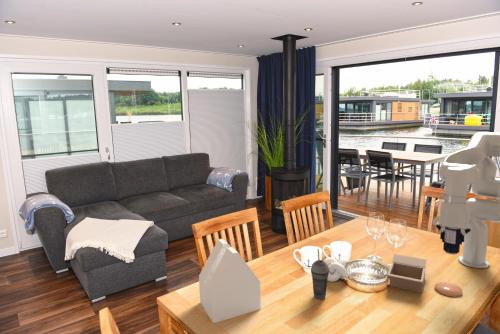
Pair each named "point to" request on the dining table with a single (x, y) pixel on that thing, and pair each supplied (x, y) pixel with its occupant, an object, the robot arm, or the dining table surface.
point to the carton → (407, 272)
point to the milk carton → (228, 284)
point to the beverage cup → (319, 278)
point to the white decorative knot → (336, 269)
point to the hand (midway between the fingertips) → (451, 241)
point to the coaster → (448, 289)
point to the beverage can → (452, 240)
